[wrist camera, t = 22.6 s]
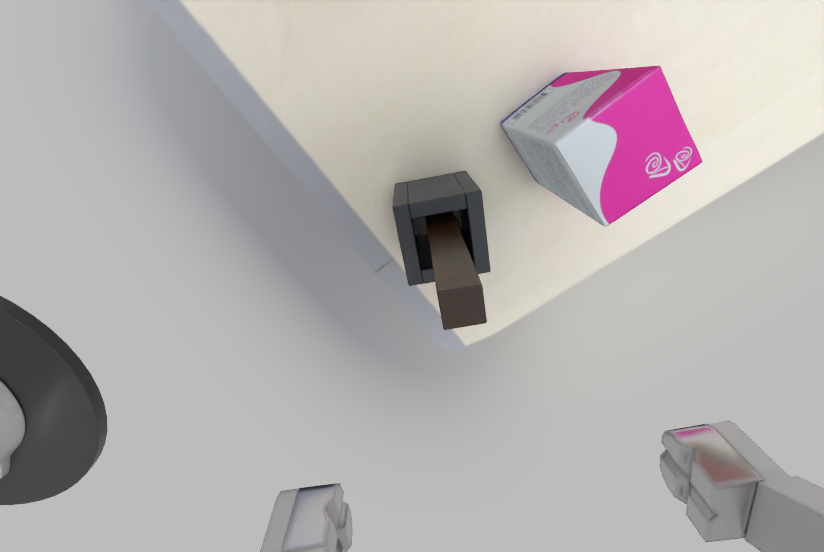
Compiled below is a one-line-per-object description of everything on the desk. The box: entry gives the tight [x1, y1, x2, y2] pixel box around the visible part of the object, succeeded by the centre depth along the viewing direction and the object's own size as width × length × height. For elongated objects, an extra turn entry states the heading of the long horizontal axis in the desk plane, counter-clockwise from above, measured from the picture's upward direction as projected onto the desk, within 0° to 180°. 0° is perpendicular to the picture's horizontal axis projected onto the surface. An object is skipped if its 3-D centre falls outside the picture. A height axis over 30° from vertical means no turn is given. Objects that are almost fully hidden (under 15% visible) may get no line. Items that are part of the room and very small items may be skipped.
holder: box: [393, 171, 490, 286], centre depth 30 cm, size 6×6×7 cm
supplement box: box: [500, 66, 702, 227], centre depth 25 cm, size 6×6×12 cm
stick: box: [425, 211, 487, 330], centre depth 26 cm, size 2×2×16 cm
